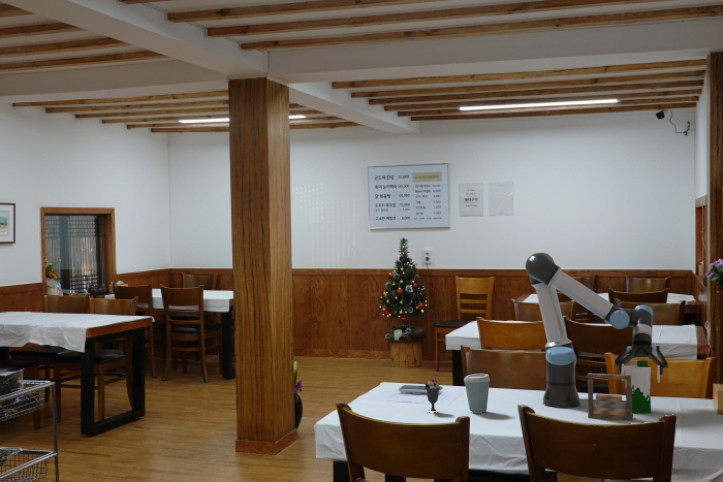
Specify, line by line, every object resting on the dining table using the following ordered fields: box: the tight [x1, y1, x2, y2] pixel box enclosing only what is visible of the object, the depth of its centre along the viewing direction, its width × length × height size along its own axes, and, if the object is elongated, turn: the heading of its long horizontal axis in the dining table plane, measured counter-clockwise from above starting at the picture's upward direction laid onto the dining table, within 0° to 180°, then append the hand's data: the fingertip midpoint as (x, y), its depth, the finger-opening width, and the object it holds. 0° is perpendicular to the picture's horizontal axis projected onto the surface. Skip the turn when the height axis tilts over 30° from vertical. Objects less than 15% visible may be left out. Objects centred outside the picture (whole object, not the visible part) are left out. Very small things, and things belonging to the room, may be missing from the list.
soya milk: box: [624, 360, 652, 415], centre depth 305 cm, size 9×9×20 cm
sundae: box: [424, 374, 441, 411], centre depth 312 cm, size 7×7×15 cm
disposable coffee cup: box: [463, 373, 491, 414], centre depth 311 cm, size 11×11×15 cm
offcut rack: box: [587, 372, 634, 422], centre depth 295 cm, size 16×6×17 cm, turn 66°
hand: (640, 379), depth 306 cm, fingers open, 13 cm apart
